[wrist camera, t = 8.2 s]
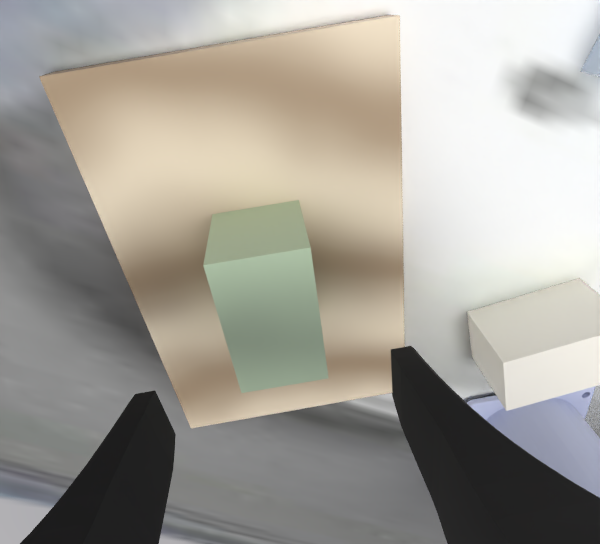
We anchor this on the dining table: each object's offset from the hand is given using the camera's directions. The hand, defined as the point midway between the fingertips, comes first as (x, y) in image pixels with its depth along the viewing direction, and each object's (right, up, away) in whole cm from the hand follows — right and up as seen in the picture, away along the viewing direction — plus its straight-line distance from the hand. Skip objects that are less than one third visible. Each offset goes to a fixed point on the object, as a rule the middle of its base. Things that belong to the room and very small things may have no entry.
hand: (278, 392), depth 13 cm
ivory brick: (+13, +1, +11) cm, 17 cm away
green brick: (-1, +4, +6) cm, 7 cm away
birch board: (-1, +4, +7) cm, 8 cm away
